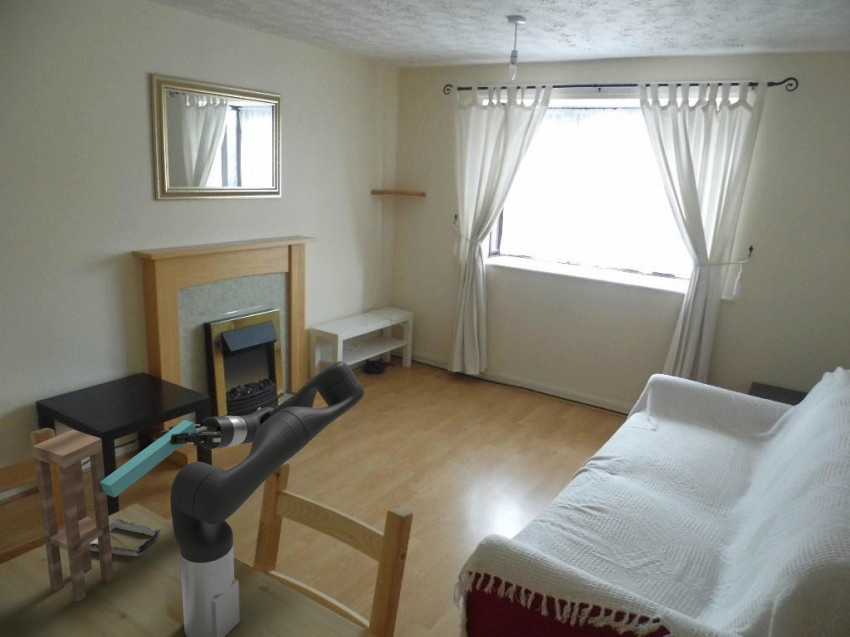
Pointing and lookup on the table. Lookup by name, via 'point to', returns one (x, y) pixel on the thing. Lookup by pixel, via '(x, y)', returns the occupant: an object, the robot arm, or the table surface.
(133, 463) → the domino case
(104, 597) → the table surface
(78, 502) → the walnut stand
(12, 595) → the table surface
